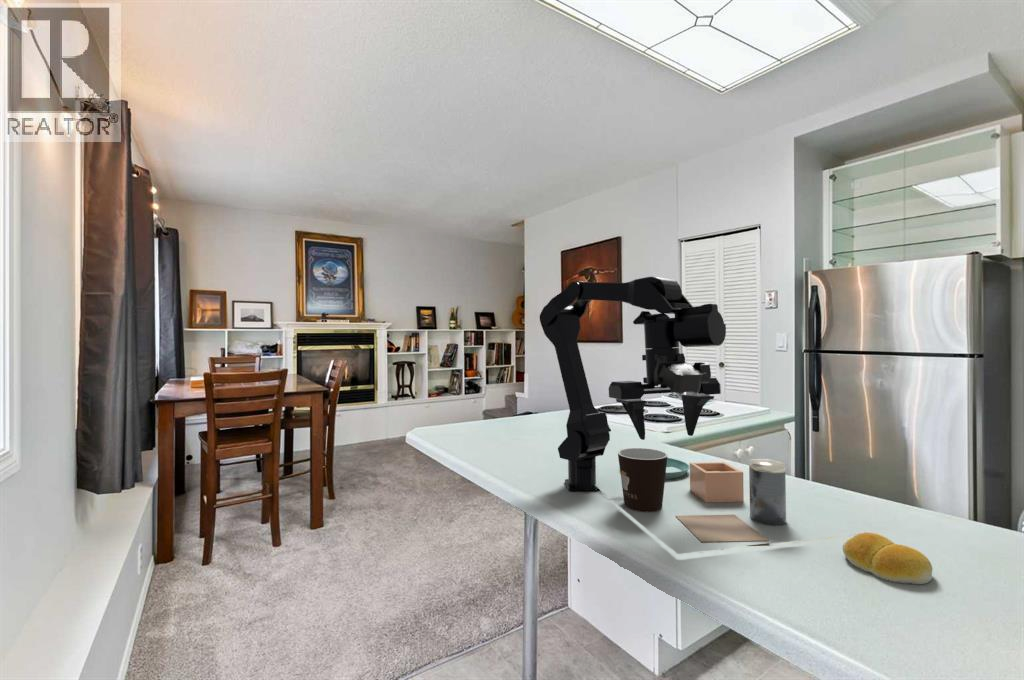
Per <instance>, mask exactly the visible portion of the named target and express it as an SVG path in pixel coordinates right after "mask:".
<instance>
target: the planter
mask: <svg viewBox="0 0 1024 680" xmlns="http://www.w3.org/2000/svg"><path fill="white" fill-rule="evenodd" d="M707 471H720V472H707ZM689 491H691V492H692V493H693V494H695V495H696V496H698V497H699V498H700V499H701V500H702V501H703V502H705V503H726V502H727V503H728V502H729V503H731V502H732V503H733V502H734V503H735V502H737V503H738V502H744V500H745V499H744V495H745V493H744V491H745V489H744V471H742V470H740V469H738V468H736V467H735V466H733V465H730V464H729V463H727V462H725V461H720V462H719V461H715V462H712V461H711V462H710V461H709V462H689Z"/></svg>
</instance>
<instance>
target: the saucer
mask: <svg viewBox="0 0 1024 680" xmlns="http://www.w3.org/2000/svg"><path fill="white" fill-rule="evenodd" d="M666 468H676V469H678V470H680V471H674V472H673V471H672V472H671V471H670V472H666V475H665V480H670V479H671V480H673V479H677V478H680V477H683V476H684V475H685V474H687V472H688V471H689V470H690V464H688V463H687V462H685V461H682V460H680V459H675V458H671V457H667V466H666Z"/></svg>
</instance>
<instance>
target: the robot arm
mask: <svg viewBox="0 0 1024 680" xmlns="http://www.w3.org/2000/svg"><path fill="white" fill-rule="evenodd" d="M682 291H683V290H682V288H681V285H680V284H679V283H678V281H677V280H675V279H672V278H664V277H657V276H646V277H645V276H644V277H642V278H635V279H633V280H631V281H626V282H610V281H609V282H605V281H604V282H601V281H598V282H597V281H582V280H574V281H572V282H570V283H569V284H568V286H567V287H566V288H565V289H563V291H560V293H558V294H557V295H555V296H553V297H552V298H551V299H550V300H549V301H548V303H547V304H546V305H544V306H543V308H542V310H541V312H540V314H539V322H540V326H541V327H542V328H541V329H542V330H543V333H544V335H545V337H546V338H547V339H548V340H549V341H550V343H551V344H552V345H553V346H554V348H555V349H554V350H555V353H556V357H557V361H558V366H559V367H558V368H559V371H560V374H561V378H562V379H561V380H562V382H563V383H562V384H563V387H564V392H565V397H566V400H567V402H568V408H569V413H568V418H567V422H566V433H567V435H566V436H567V437H565V438H564V440H563V441H562V442H561V444H560V445H559V446H558V447H557V451H558V455H559V456H558V457H559V458H560V459H563V460H566V461H567V471H568V472H567V473H568V477H567V479H564V483H565V485H566V487H567V489H568V491H569V492H570V491H571V492H573V491H575V492H577V491H580V492H582V491H600V490H601V489H600V488H599V487H598V486H596V485H597V469H596V467H597V465H596V462H597V460H596V459H597V457H599V456H604V455H605V454H604V453H605V451H606V447H607V445H608V444H609V441H611V437H610V436H611V435H610V433H611V431H612V430H611V428H610V425H609V423H608V416H607V414H606V412H605V411H602V412H599V411H598V409H597V408H596V407H595V406H594V404H593V399H592V396H591V392H590V388H589V387H590V386H589V384H588V379H587V377H586V376H587V375H586V372H585V367H584V364H583V360H582V356H581V353H580V349H579V345H578V339H579V335H580V332H581V331H580V330H581V324H580V323H581V321H580V320H581V319H582V318H583V317H584V316H585V314H586V313H587V311H588V307H589V304H590V302H591V301H604V302H619V303H624V304H625V303H626V304H629V305H631V306H633V307H636V308H637V307H638V308H641V309H644V311H643V310H642V311H641V312H640V314H639V315H638V316H637V317H635V319H634V320H633V321H632V324H633V325H639V326H640V325H641V326H642V325H643V330H644V349H645V352H644V353H645V354H642V356H641V359H642V360H641V361H645V369H646V377H643V378H642V379H643V383H642V382H641V381H633V380H623V381H622V380H620V381H619V380H618V381H611V383H610V384H609V386H608V398H611V399H615V403H621V405H622V406H623V408H624V410H625V411H626V413H627V414H628V416H629V419H630V420H631V421H630V422H632V424H633V427H634V429H635V431H636V434H637V435H638V437H639V439H640V440H641V441H642V440H643V441H644V440H645V439H646V427H645V426H646V424H645V414H644V408H645V406H646V403H647V401H646V400H645V399H643V400H642V397H643V396H644V395H654V394H672V393H673V394H674V393H675V394H681V401H682V409H683V417H684V424H685V429H686V433H687V435H688V436H690V437H692V436H694V434H695V430H696V427H697V424H698V421H699V418H700V414H701V412H702V410H703V408H704V406H705V405H706V404H707V403H708V402H709V401H710V400H714V399H715V396H714V395H721V394H722V391H721V390H722V389H721V383H720V381H719V380H718V379H717V377H712V372H711V365H710V363H708V362H707V361H696V362H694V364H687V362H686V356H685V353H684V352H683V353H680V345H681V346H682V347H684V348H695V347H696V348H697V347H698V348H699V347H718V346H721V345H722V344H723V343H724V342H725V339H726V334H727V325H726V324H725V321H724V319H723V316H722V314H721V313H720V312H719V309H718V307H719V306H718V304H717V303H705V304H701V305H699V306H698V305H697V306H694V305H692V304H691V302H690V301H689V300H688V299H687V297H686V296H685V295H684V294H683V293H682ZM646 310H647V311H646ZM649 310H650V311H656V312H658V313H653V314H652V313H651V312H650V311H649ZM668 314H670V315H671V314H672V315H674V317H670V316H669V315H668ZM684 393H686V394H684Z"/></svg>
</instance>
